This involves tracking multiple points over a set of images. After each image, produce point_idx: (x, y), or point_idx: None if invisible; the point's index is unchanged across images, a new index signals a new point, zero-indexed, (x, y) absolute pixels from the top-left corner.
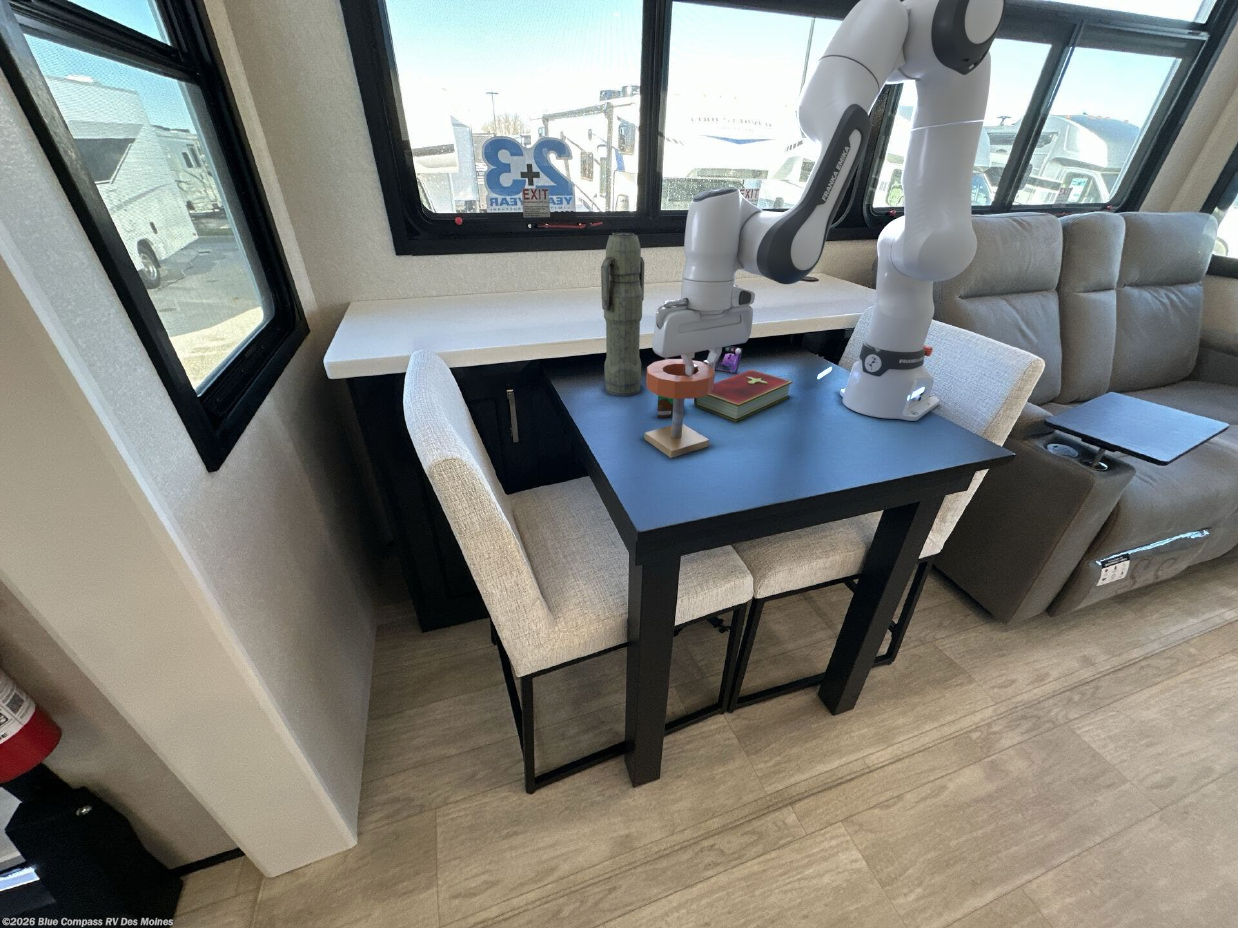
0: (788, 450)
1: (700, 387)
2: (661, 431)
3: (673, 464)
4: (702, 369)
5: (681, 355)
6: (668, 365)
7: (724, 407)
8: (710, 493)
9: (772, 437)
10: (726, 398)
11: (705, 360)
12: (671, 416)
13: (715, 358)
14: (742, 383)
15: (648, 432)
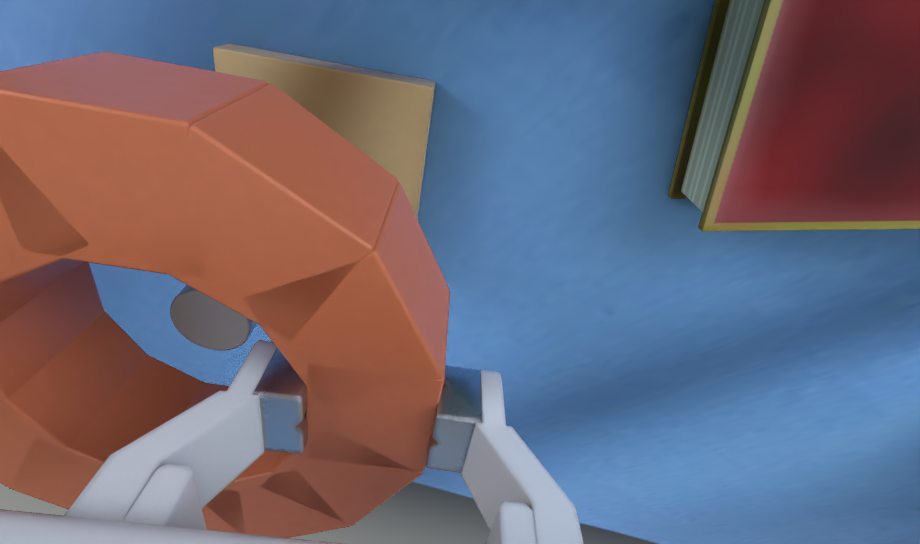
0: (575, 393)
1: None
2: (291, 95)
3: None
4: (314, 472)
5: (104, 469)
6: (96, 261)
7: (715, 132)
8: None
9: (626, 335)
10: (754, 141)
11: (458, 421)
12: None
13: (482, 508)
14: None
15: (229, 61)
